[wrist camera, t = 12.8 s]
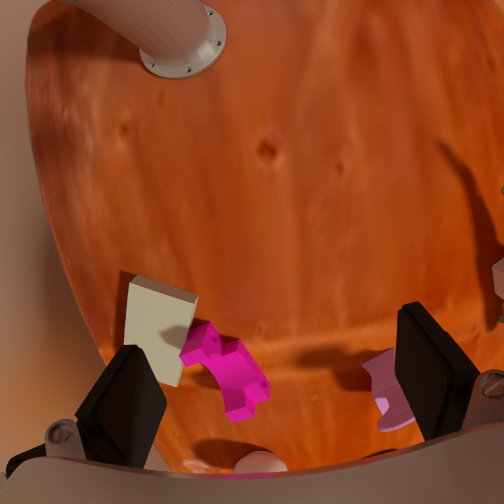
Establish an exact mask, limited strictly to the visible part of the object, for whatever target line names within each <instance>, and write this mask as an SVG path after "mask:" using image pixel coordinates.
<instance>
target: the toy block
mask: <svg viewBox="0 0 504 504" xmlns="http://www.w3.org/2000/svg"><path fill="white" fill-rule="evenodd" d="M178 357H179V358H180V359H181V361H182V362H183V363H184V364H185V366H186V367H188V366H191V365H194V364H196V363H201V364H203V365H205V366H206V367H207V368H208V369H209V370H210V371H211V373H212V374H213V375H214V377H215V378H216V380H217V382H218V384H219V386H220V389H221V391H222V394H223V398H224V404H225V414H226V415H227V416H228V417H229V418H230V419H231V421H232V422H233V423H235V422H238V421H242V420H245V419H249V418H252V417H254V414H255V404H257V403H260V402H263V401H266V400H269V389H270V382H269V381H268V379H267V378H266V377H265V375H264V374H263V372H262V371H261V369H260V368H259V367H258V365H257V364H256V362H255V361H254V359H253V358H252V356H251V355H250V353H249V352H248V350H247V349H246V348H245V346H244V345H243V343H242V342H241V340H240V339H237V340H235V341H232V342H230V343H227V344H225V342H224V341H223V339H222V338H221V336H220V335H219V333H218V332H217V331H216V329H215V328H214V326H213V325H212V323H211V322H208V323H206V324H203V325H201V326H199V327H196V328H194V329H192V330H190V333H189V335H188V337H187V339H186V341H185V343H184V345H183V348H182V350H181V352H180V354H179V356H178Z"/></svg>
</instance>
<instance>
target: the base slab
mask: <svg viewBox="0 0 504 504" xmlns="http://www.w3.org/2000/svg"><path fill="white" fill-rule="evenodd" d="M198 296H199V295H198V294H194V293H191V292H188V291H185V290H182V289H178V288H175V287H172V286H169V285H166V284H163V283H160V282H157V281H154V280H151V279H148V278H145V277H142V276H139V275H137V276H136V277H135V278H134V279H133V280H132V281H131V282H130V283H129V291H128V301H127V311H126V322H125V335H124V345H131V344H136V345H138V346H139V348H142V349H143V351H144V353H145V355H146V357H147V360H148V362H149V364H150V366H151V368H152V371H153V373H154V375H155V377H156V379H157V381H159V382H162V383H165V384H168V385H171V386H174V387H177V385H178V382H179V380H180V377H181V373H182V368H183V364H184V363H183V362H182V361H181V359H180V358H179V357H178V356H179V354H180V352H181V350H182V348H183V345H184V343H185V341H186V339H187V337H188V335H189V333H190V330H191V326H192V322H193V317H194V313H195V309H196V304H197V300H198Z"/></svg>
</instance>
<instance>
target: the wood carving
mask: <svg viewBox="0 0 504 504" xmlns="http://www.w3.org/2000/svg"><path fill="white" fill-rule="evenodd" d="M501 192H502V194H503V195H504V187H503V188H502V189H501ZM492 272H493V279H494V288H495V294H496V295H498V296H499V297H500V298H502V299H503V300H504V258H502V259H501V260H500V261H498V262H497V263H496V264H494V265H493V266H492ZM498 320H499V321H500V322H501V323H504V315H498Z"/></svg>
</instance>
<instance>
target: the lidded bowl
mask: <svg viewBox="0 0 504 504" xmlns="http://www.w3.org/2000/svg"><path fill="white" fill-rule="evenodd" d="M281 471H288V469H287V467H286V465H285V463H284V462H283V461H282V460H281V459H279V458H278V457H277V456H276V455H275V454H273V453H271V452H267V451H254V452H251V453H249V454H247V455H246V456H245V457H243V458H242V459H240V460H239V461H238V462H237V464H236V465H235V467H234V469H233V472H232V474H251V473H268V472H281Z"/></svg>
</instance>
